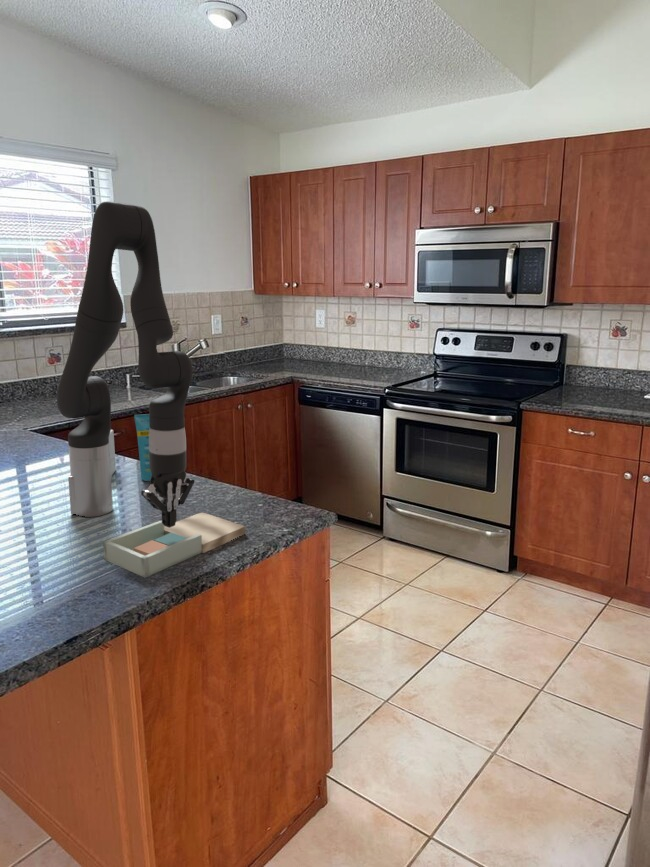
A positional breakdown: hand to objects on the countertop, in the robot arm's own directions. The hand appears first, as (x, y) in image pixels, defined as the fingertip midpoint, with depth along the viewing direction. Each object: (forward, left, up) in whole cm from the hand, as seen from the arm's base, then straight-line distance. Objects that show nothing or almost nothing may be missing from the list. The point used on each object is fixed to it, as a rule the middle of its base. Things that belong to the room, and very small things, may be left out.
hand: (169, 525), depth 138 cm
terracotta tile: (-3, -5, -5) cm, 7 cm away
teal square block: (0, -1, -5) cm, 5 cm away
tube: (-12, +48, -5) cm, 50 cm away
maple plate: (+6, +7, -5) cm, 11 cm away
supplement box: (-27, +53, -5) cm, 60 cm away
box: (-3, -4, -5) cm, 7 cm away
